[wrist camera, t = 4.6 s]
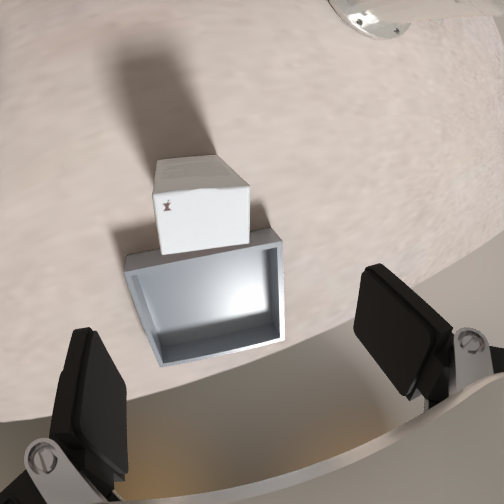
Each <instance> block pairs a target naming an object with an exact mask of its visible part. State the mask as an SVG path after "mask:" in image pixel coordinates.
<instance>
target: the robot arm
mask: <svg viewBox="0 0 504 504" xmlns="http://www.w3.org/2000/svg"><path fill="white" fill-rule="evenodd" d="M329 2H330V4H331V5H332V7H333V8H334V10H335V11H336V12H337V14H338V15H339V16H340V17H341V18H342V19H343V20H344V21H345V22H346V23H347V24H348V25H350V26H351V27H352V28H354V29H355V30H357V31H358V32H360V33H362V34H364V35H366V36H368V37H371V38H375V39H382V40H385V39H392V38H397V37H399V36H401V35H403V34H404V33H405V32H406V31H407V30H408V28H409V26H410V25H411V23H413V22H420V21H427V20H429V21H432V22H434V23H437V24H441V23H442V22H443V20H444V18H456V17H473V16H504V0H329ZM353 328H354V332H355V335H356V336H357V338H358V339H359V340H360V341H361V343H362V344H363V345H364V346H365V348H366V349H367V350H368V352H369V353H370V354H371V356H372V357H373V358H374V360H375V361H376V362H377V364H378V365H379V366H380V368H381V369H382V370H383V372H384V373H385V374H386V376H387V377H388V378H389V380H390V381H391V382H392V383H393V385H394V386H395V387H396V389H397V390H398V391H399V393H400V394H401V395H403V396H406V397H407V399H408V400H409V401H411V400H413V399H414V398H416V397H418V396H420V395H421V394H422V395H423V396H424V410H423V413H422V414H420V415H419V416H417V417H415V418H414V419H412V420H410V421H408V422H406V423H405V424H403V425H401V426H399V427H397V428H395V429H394V430H392V431H390V432H388V433H386V434H384V435H382V436H380V437H378V438H376V439H374V440H372V441H369V442H367V443H365V444H363V445H361V446H359V447H356V448H354V449H352V450H349V451H347V452H345V453H342V454H340V455H338V456H335V457H333V458H330V459H327V460H325V461H322V462H320V463H317V464H314V465H311V466H309V467H306V468H303V469H300V470H297V471H294V472H290V473H287V474H284V475H281V476H277V477H274V478H270V479H267V480H263V481H259V482H256V483H251V484H247V485H243V486H238V487H234V488H229V489H225V490H219V491H213V492H208V493H201V494H195V495H188V496H180V497H171V498H162V499H150V500H134V501H124V500H123V499H122V498H121V497H120V496H119V495H118V494H117V493H116V492H115V491H114V482H117V481H125V475H124V474H127V473H128V453H127V424H126V395H127V391H126V385H125V382H124V380H123V378H122V377H121V375H120V373H119V371H118V370H117V368H116V366H115V364H114V363H113V361H112V359H111V357H110V355H109V353H108V352H107V350H106V348H105V346H104V344H103V342H102V340H101V338H100V336H99V334H98V332H97V331H93V330H92V329H91V328H90V327H87V328H81V329H75V330H74V331H73V333H72V337H71V341H70V344H69V348H68V352H67V356H66V360H65V364H64V369H63V371H62V372H61V374H60V378H59V382H58V387H57V392H56V397H55V403H54V408H53V414H52V420H51V427H50V434H49V438H40V439H37V440H35V441H33V442H32V443H31V444H30V445H29V446H28V448H27V450H26V452H25V456H24V463H25V467H26V470H25V471H24V472H23V473H22V474H20V475H19V476H18V477H17V478H16V479H15V480H14V481H13V482H12V483H11V484H10V485H9V486H7V487H6V488H5V489H4V490H3V491H2V492H1V493H0V504H504V348H498V347H493V346H489V343H488V341H487V339H486V337H485V336H484V335H483V334H482V333H481V332H480V331H478V330H476V329H473V328H461V329H459V330H458V331H456V333H455V335H454V334H453V333H452V329H453V327H452V326H451V325H450V324H449V323H448V322H447V321H446V320H444V319H443V318H442V317H441V316H440V315H439V314H438V313H437V312H436V311H435V310H434V309H433V308H432V307H431V306H430V305H428V304H427V303H426V302H425V301H424V300H423V299H422V298H421V297H420V296H418V295H417V294H416V293H415V292H414V291H413V290H412V289H411V288H409V287H408V286H407V285H406V284H405V283H404V282H403V281H401V280H400V279H399V278H398V277H397V276H396V275H395V274H393V273H392V272H391V271H390V270H389V269H387V268H386V267H385V266H384V265H383V264H380V263H379V264H375V265H372V266H368V267H366V268H365V271H364V272H363V273H362V275H361V282H360V289H359V296H358V302H357V308H356V314H355V320H354V327H353Z"/></svg>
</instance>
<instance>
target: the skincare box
mask: <svg viewBox="0 0 504 504" xmlns="http://www.w3.org/2000/svg"><path fill="white" fill-rule="evenodd" d="M152 199H153V206H154V213H155V220H156V226H157V233H158V239H159V245H160V251H161V254H162V255H166V254H174V253H181V252H189V251H196V250H203V249H210V248H217V247H225V246H232V245H240V244H248V243H249V235H250V185H249V184H248V183H247V182H245V181H244V180H243V179H242V178H241V177H240V176H239V175H238V174H237V173H236V172H235V171H234V170H233V169H232V168H231V167H230V166H228V165H227V164H226V163H225V162H224V161H223V160H222V159H221V158H220V157H219V156H218V155H204V156H192V157H181V158H171V159H162V160H157V164H156V171H155V178H154V187H153V193H152Z"/></svg>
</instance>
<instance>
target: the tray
mask: <svg viewBox="0 0 504 504" xmlns="http://www.w3.org/2000/svg"><path fill="white" fill-rule="evenodd" d="M124 275H125V278H126V281H127V284H128V287H129V290H130V292H131V295H132V298H133V301H134V304H135V307H136V309H137V312H138V315H139V317H140V320H141V323H142V325H143V328H144V330H145V333H146V335H147V338H148V340H149V343H150V345H151V347H152V350H153V352H154V355H155V357H156V359H157V362H158V364H159V366H160V367H166V366H171V365H177V364H182V363H188V362H193V361H198V360H203V359H208V358H212V357H217V356H222V355H226V354H230V353H235V352H239V351H243V350H248V349H252V348H256V347H260V346H264V345H268V344H271V343H275V342H279V341H283V340H285V331H284V277H283V243H282V240H281V239H280V237H279V236H278V235H277V234H276V233H275V231H274V230H273V229H272V228H267V229H261V230H256V231H250V235H249V243H248V244H240V245H232V246H225V247H217V248H210V249H203V250H196V251H189V252H181V253H174V254H166V255H162V254H161V251H160V249H157V250H152V251H147V252H142V253H137V254H132V255H127V258H126V263H125V268H124Z"/></svg>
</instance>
